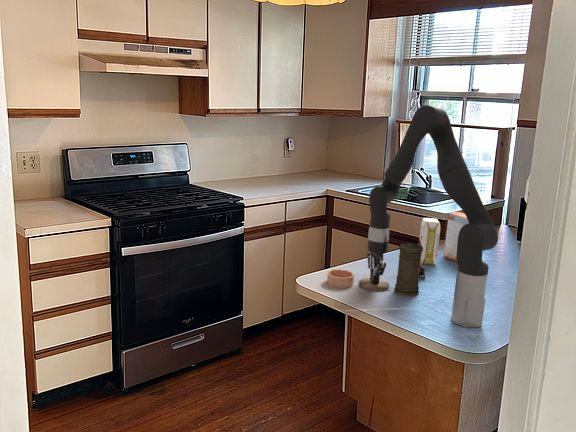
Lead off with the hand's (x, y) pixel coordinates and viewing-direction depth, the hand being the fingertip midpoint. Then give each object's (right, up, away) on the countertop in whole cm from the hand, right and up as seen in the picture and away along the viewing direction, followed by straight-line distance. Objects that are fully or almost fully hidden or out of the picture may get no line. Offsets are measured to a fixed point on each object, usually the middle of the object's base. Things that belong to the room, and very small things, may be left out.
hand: (374, 282), depth 201 cm
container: (+11, -3, -4) cm, 12 cm away
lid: (0, -1, 0) cm, 1 cm away
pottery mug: (+17, 0, +14) cm, 22 cm away
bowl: (-13, -1, +2) cm, 13 cm away
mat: (0, -2, 0) cm, 2 cm away
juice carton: (+28, +5, +34) cm, 44 cm away
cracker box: (+44, +5, +38) cm, 58 cm away
